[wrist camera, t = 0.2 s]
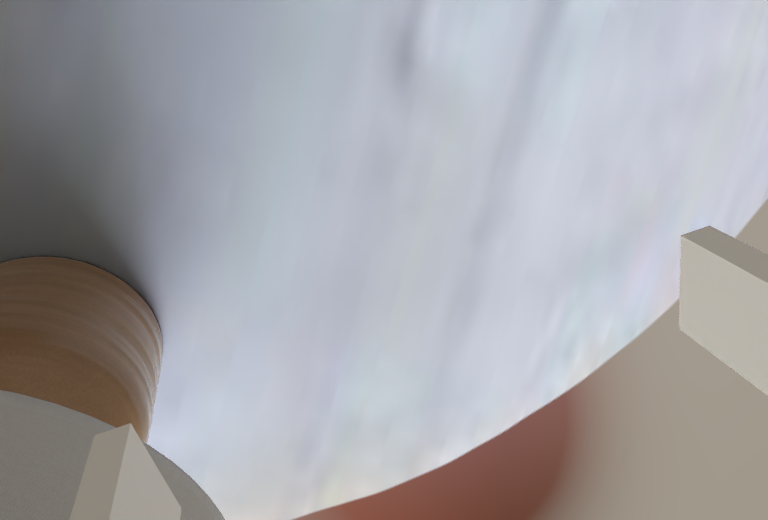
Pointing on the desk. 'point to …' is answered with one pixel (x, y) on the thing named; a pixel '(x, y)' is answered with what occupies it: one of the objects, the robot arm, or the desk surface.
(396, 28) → the desk surface
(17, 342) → the lamp
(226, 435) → the desk surface
